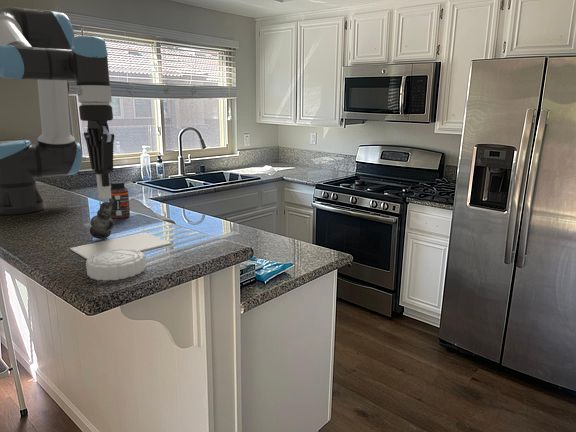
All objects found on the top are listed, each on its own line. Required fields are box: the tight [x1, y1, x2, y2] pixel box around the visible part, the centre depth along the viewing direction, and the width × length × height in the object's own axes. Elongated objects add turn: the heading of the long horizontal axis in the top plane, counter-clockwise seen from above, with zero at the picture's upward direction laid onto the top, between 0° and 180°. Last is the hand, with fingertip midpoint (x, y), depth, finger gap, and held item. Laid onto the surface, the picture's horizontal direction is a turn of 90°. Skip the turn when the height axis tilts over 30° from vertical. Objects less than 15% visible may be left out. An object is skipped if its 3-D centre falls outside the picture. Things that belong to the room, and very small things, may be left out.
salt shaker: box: [89, 201, 115, 240], centre depth 116 cm, size 6×6×12 cm
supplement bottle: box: [108, 180, 131, 219], centre depth 142 cm, size 6×6×11 cm
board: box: [69, 231, 172, 260], centre depth 112 cm, size 14×20×1 cm
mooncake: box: [85, 249, 147, 282], centre depth 96 cm, size 12×12×4 cm
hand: (105, 198), depth 114 cm, fingers closed
